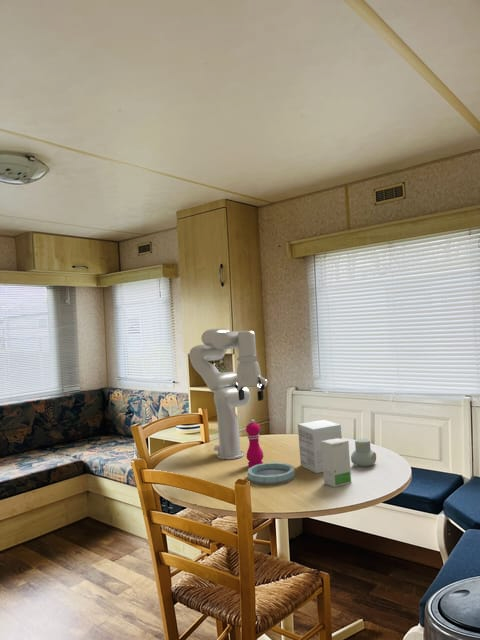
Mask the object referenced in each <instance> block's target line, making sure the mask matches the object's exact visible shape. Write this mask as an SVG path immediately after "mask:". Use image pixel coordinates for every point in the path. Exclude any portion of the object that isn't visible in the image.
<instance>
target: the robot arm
mask: <svg viewBox="0 0 480 640" xmlns="http://www.w3.org/2000/svg"><path fill="white" fill-rule="evenodd" d="M201 341H202V343H203V344H197V345H195V346H193V347H192V348H190V349H189V354H188V355H189V361H190V364H191V366H192V368H193V369H194V370H195V372H197V373H198V374H199V375H200V376H201V378H202V380H203V382H204V384H206V386H207V388H208V389H209V390H210V391H211V393H214V394H213V402H214V406H215V410H216V415H217V416H216V418H217V430H218V443H219V445H215V446H214V447H213V451H216V452H217V454H216V457H217V459H219V460H224V459H225V460H226V459H227V460H236V459H237V460H238V459H239V458H243V456H244V455H245V453H244V452H245V451H243V450H241V441H240V428H239V417H238V414H237V413H236V412H235V410H234V408H238V407H244V406H247V405H249V404H250V401H251V400H252V397H251V396H252V395H251V391H250V390H249V388H256V389H257V391H256V392H257V394H256V395H257V400H258V402H260V401H264V396H265V395H264V391H265V388H266V387H267V385H268V382H269V381H268V380H267V379H266V378H265V377H263V376H262V373H261V368H260V364H259V362H258V357H257V347H256V334H255V331H253V330H234V331H233V330H232V331H230V330H229V329H228V328H225V327H224V328H210V329H207V330H204V332H202V335H201ZM233 349H238V357H237V358H236V360H237V361H239V363H238V364H237V366H236V367H237V368H236V372H234V371H225V372H222V371H220V370H219V369H218V368H217V367H216V365H214V364H213V363H211V362H210V361H219V360H221V359H223V358H224V356H225V354H226V352H227V351H228V350H233Z"/></svg>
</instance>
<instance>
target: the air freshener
mask: <svg viewBox="0 0 480 640" xmlns="http://www.w3.org/2000/svg"><path fill="white" fill-rule="evenodd" d="M354 443H355V444H354V446H355V450H353V452H351V455H350V462H351V463H352V464H353V465H354V466H357V467H360V468H368V467H369V466H370V467H372V466H373V465H375V464H376V461H377V453H376V452H375V451H373V450H372V449H371V441H370V440H369V439H367V438H358V439H355V441H354Z"/></svg>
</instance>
